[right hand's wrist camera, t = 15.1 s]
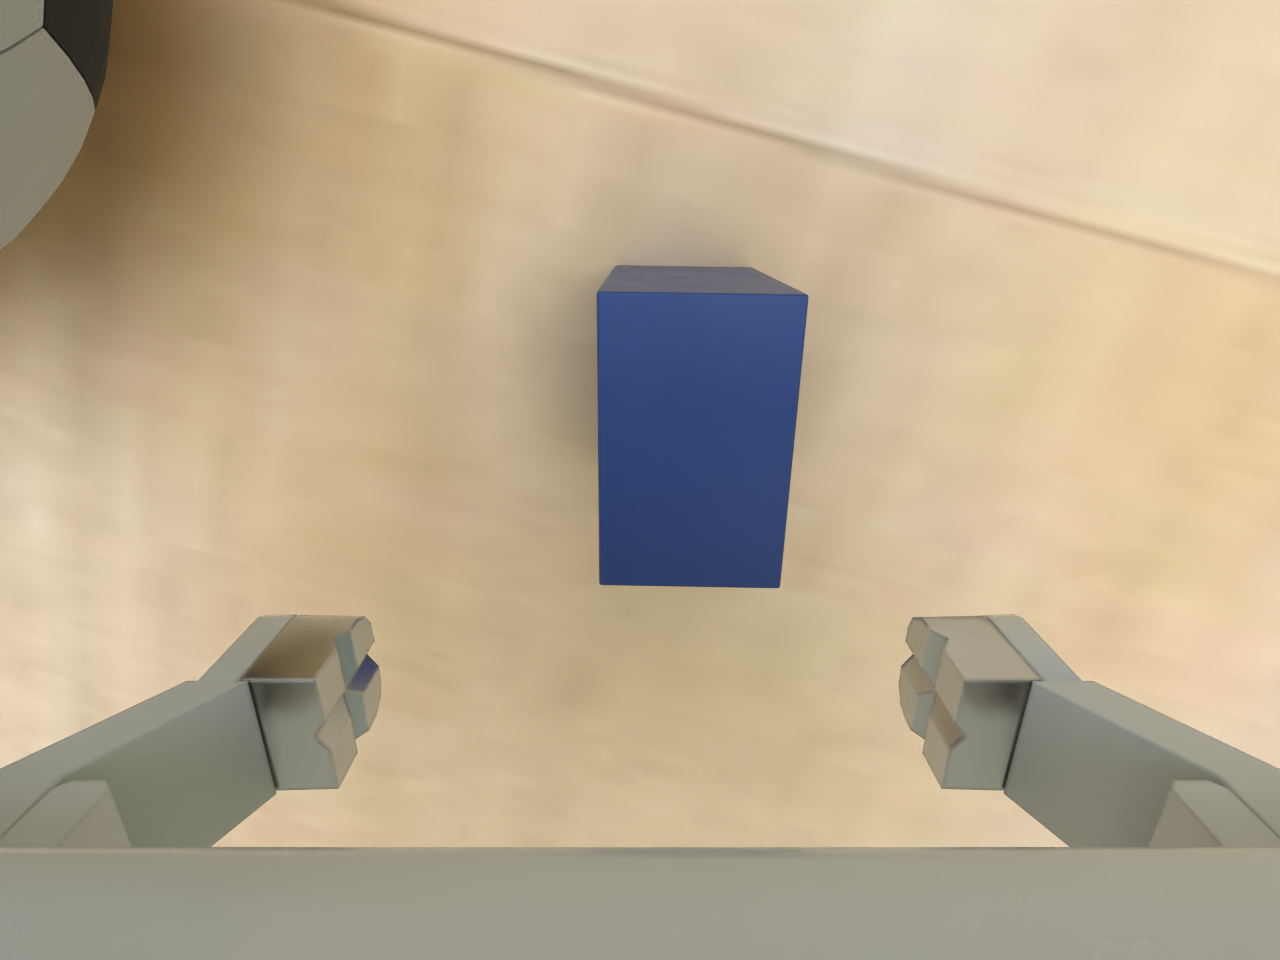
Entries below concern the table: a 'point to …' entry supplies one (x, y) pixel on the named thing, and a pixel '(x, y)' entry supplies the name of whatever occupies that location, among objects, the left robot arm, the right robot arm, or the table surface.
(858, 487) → the table surface
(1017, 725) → the right robot arm
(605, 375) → the brick
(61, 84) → the soccer ball
